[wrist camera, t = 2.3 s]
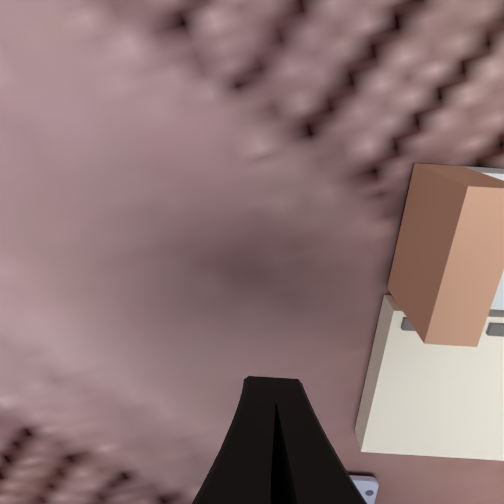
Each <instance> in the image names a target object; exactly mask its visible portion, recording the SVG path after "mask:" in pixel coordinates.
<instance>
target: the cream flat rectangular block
mask: <svg viewBox="0 0 504 504" xmlns="http://www.w3.org/2000/svg"><path fill="white" fill-rule="evenodd" d="M355 433H356V436H357V440H358V443H359V447H360V450H361V452H373V453H389V454H405V455H422V456H438V457H454V458H470V459H487V460H503V461H504V310H495V309H490V311H489V314H488V317H487V320H486V323H485V325H484V328H483V331H482V334H481V337H480V340H479V343H478V346H477V347H468V346H452V345H436V344H424V343H423V341H422V340H421V338H420V337H419V335H418V334H417V332H416V331H415V329H414V328H413V326H412V325H411V323H410V322H409V320H408V319H407V317H406V316H405V314H404V313H403V311H402V310H401V308H400V306H399V305H398V303H397V302H396V300H395V299H394V297H393V296H392V295H384V297H383V302H382V306H381V311H380V315H379V320H378V325H377V329H376V334H375V338H374V343H373V348H372V352H371V357H370V361H369V366H368V370H367V375H366V380H365V384H364V389H363V393H362V398H361V403H360V407H359V412H358V416H357V421H356V426H355Z"/></svg>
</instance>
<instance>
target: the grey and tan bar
mask: <svg viewBox="0 0 504 504" xmlns="http://www.w3.org/2000/svg"><path fill="white" fill-rule="evenodd" d="M387 288H388V290H389V291H390V293H391V294H392V296H393V297H394V299H395V300H396V302H397V303H398V305H399V306H400V308H401V310H402V311H403V313H404V314H405V316H406V317H407V319H408V320H409V322H410V323H411V325H412V326H413V328H414V329H415V331H416V332H417V334H418V335H419V337H420V338H421V340H422V341H423V343H424V344H436V345H452V346H468V347H477V346H478V343H479V340H480V337H481V334H482V331H483V328H484V325H485V323H486V320H487V317H488V314H489V311H490V309H495V310H504V169H501V168H485V167H469V166H453V165H437V164H421V163H415V164H414V168H413V173H412V177H411V182H410V186H409V191H408V195H407V200H406V204H405V209H404V214H403V218H402V223H401V227H400V232H399V236H398V241H397V245H396V250H395V255H394V259H393V264H392V268H391V273H390V277H389V282H388V286H387Z"/></svg>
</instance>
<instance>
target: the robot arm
mask: <svg viewBox="0 0 504 504" xmlns="http://www.w3.org/2000/svg"><path fill="white" fill-rule="evenodd" d="M378 488H379V485H378V482H377V479H376V478H374V477H371V476H356V475H349V474H348V473H347V471H346V469H345V468H344V466H343V464H342V463H341V461H340V459H339V457H338V456H337V454H336V452H335V450H334V449H333V447H332V445H331V443H330V441H329V440H328V438H327V436H326V434H325V432H324V430H323V429H322V427H321V425H320V423H319V421H318V419H317V417H316V415H315V413H314V411H313V408H312V406H311V404H310V402H309V400H308V398H307V395H306V393H305V390H304V388H303V385H302V383H301V382H300V381H299V380H298V379H287V378H271V377H255V376H248V377H247V378H246V379H244V384H243V390H242V394H241V398H240V401H239V404H238V407H237V410H236V413H235V416H234V418H233V421H232V423H231V426H230V428H229V430H228V433H227V435H226V437H225V440H224V442H223V444H222V447H221V449H220V451H219V453H218V455H217V457H216V459H215V461H214V463H213V465H212V467H211V469H210V471H209V473H208V475H207V477H206V479H205V481H204V483H203V485H202V487H201V488H200V490H199V492H198V494H197V496H196V497H195V499H194V501H193V503H192V504H374V502H375V499H376V495H377V491H378Z"/></svg>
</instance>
